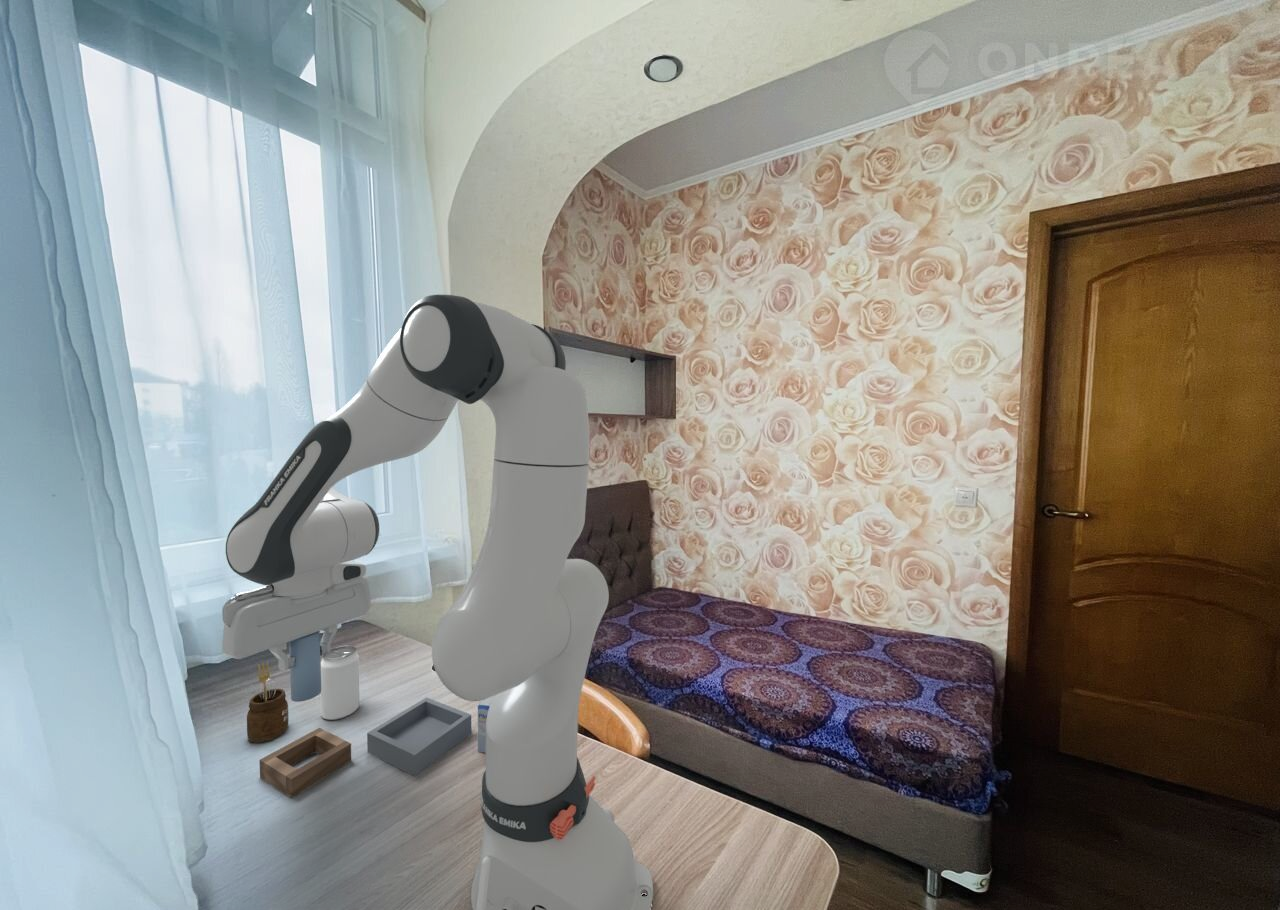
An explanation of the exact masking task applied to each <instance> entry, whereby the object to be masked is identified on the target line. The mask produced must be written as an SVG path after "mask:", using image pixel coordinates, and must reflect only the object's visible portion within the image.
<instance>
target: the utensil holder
mask: <svg viewBox="0 0 1280 910" xmlns="http://www.w3.org/2000/svg"><path fill="white" fill-rule="evenodd" d="M265 663H266V667H265ZM265 663H262V664H261V665H260V664H258V665H257V670H258V682H259V683H261V685H260V687H259V688H260V692H259V693H257V694H255V695H253V696H252V697H251V698H250V699H249V703H248V708H249V709H248V711H247V715H246V736H247V739H248V741H249V742H250V743H255V744H256V743H264V742H269V741H271V740H273V739H275V738H278V737H279V736H281V735H283V734H284V733H285V732H286V730H287V729H288V728H289V727H288V726H289V703H288V701H287V699H286V698H287V697H286V691H285V690H284V689H282V688H274V687H272V688H271V686H270V684H271V683H268V682H269V681H271V682H273V680H274V682H277V680H276V679H274V678H271V677H270V676H271V675H270V667H269V666H270V665H269V662H268V661H267V662H265ZM261 666H262V667H261ZM261 669H262V672H261ZM267 683H268V685H269V689H267ZM273 686H276V683H273ZM262 688H263V691H262Z"/></svg>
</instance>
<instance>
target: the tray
mask: <svg viewBox="0 0 1280 910" xmlns="http://www.w3.org/2000/svg"><path fill="white" fill-rule="evenodd" d="M470 734H472V714H470V713H468V712H466V711H463V710H460V709H457V708H455V707H452V706H449V705H447V704H445V703H442V702H440V701H437V700H434V699H432V698H429V697H427V696H426V697H424V698H423V699H422V700H419V701H418V702H416V703H414V704H413V705H411V706H410V707H408V708H406V709H405V710H403V711H402V712H399V713H398V714H396V715H395V716H393V717H391V718H389V719H387V720H386V721H385V722H383V723H381V724H380V725H378V726H377V727H375V728H373V729H371V730H369V731H367V733H366V736H367V737H366V738H367V739H366V741H367V742H366V743H367V745H366V746H367V750H366V751H367V754H370V755H372V756H374V757H375V758H378V759H379V760H382V761H384V762H385V763H388V764H390V765H392V766H394V767H396V768H398V769H400V770H402V771H404V772H406V773H407V774H410V775H412V776H414V777H415V776H416V775H418V774H419V773H421V772H422V771H423V770H424V769H426V768H427V767H429V766H430V765H431V764H433V763H434V762H435V761H437V760H438V759H439V758H440V757H442V756H443V755H444V754H445V753H447V752H448V751H450V750H451V749H452V748H454V747H455V746H456V745H458V744H459V743H460V742H462V741H463V740H464V739H465V738H467V737H468V736H470Z"/></svg>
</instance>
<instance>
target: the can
mask: <svg viewBox="0 0 1280 910" xmlns="http://www.w3.org/2000/svg"><path fill="white" fill-rule="evenodd" d="M321 657H322V659H321V693H320V694H319V697H320V716H321V718H323V719H325V720H327V721H338V720H340V719H344V718H347V717H348V716H351V715H353V713H355V712H356V711H357V710H358V708H359V707H360V656H359V653H358V651H357V648H356V646H353V645H342V646H341V645H340V646H337V647H333V648H331V651H330V652H329V653H327V654H324V655H322V656H321Z"/></svg>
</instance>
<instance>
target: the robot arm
mask: <svg viewBox="0 0 1280 910" xmlns="http://www.w3.org/2000/svg"><path fill="white" fill-rule="evenodd" d="M566 364H567V363H566V357H565V352H564V350H563V347H562V346H561V344H560V343H559V341H558V340H557V339H556V338H555V337H554V336H553V335H552V334H551V333H550V332H549V331H547V330H546V329H544V328H543V327H542V326H540V325H537V324H535V323H534V324H533V323H530V322H528V321H526V320H525V319H521V317H518V316H515V315H514V314H513V313H511V312H509V311H507V310H504V309H502V308H498V307H496V306H492V305H488V304H485V303H480V302H476V301H472V299H469V298H467V297H464V296H460V295H459V296H458V295H455V294H454V295H453V294H431V295H427V296H425V297H422V298H420V299H419V300H418V301H416V302H415V303H414V304H413V305H412V306H411V307H410V308H409V310H408V312H407V313H406V315H405V317H404V319H403V321H402V325H401V328H400V329H399V330H398V331H397V332H396V334H394V336H393V337H392V338H391V340H390V341H389V343H387V345H386V346H385V347H384V349H383V351H382V352H381V353H380V355H379V357H378V358H377V360H376V362H375V363H374V365H373V366H372V368H371V370H370V372H369V375H367V378H366V380H365V381H364V383H363V385H362V386H361V387H360V389H359V390H358V391H357V392H356V393H355V395H354V396H353V397H351V399H350V400H348V402H347V403H345V405H343V406H342V407H341V408H339V410H338V411H336V412H335V413H334V414H332V415H331V416H329V417H327V418H325V419H324V420H322V421H320V422H318V423H317V424H316V425H315V426H314V427H312V429H310V430H309V432H308V433H307V434H306V435H305V436H304V438H303V439H302V440H301V442H300V443H299V444H298V445H297V447H296V448H295V450H294V451H293V452H292V454H291V455H290V457H288V459H287V460H286V462H285V463H284V465H283V466H282V468H281V469H280V470H279V472H278V473H277V475H276V476H275V477H274V479H273V480H272V481H271V483H270V484H269V485H268V487H267V488H266V489H265V491H264V492H263V494H262V496H261V497H260V498H259V499H258V500H257V502H255V503H254V505H252V507H251V508H249V509H248V510H247V511H245V512H244V513H243V514H242V516H241V517H240V518H239V519H237V521H236V522H235V523H234V524H233V526H232V527H231V528H230V531H229V533H228V534H227V538H226V541H225V557H226V561H227V563H228V566H229V568H230V569H231V570H232V571H233V572H234V573H235V574H237V575H239V576H240V577H242V578H243V579H246V580H248V581H251V582H253V583H256V584H259V585H262V586H261V587H257V588H254V589H251V590H248V591H241V592H238V593H236V594H234V596H233V597H231V598H229V599H228V600H227V601H226V602H225V603H224V605H223V606H222V622H223V624H224V626H223V631H222V632H223V633H222V641H221V642H222V643H221V644H222V645H221V646H222V647H221V648H222V653H224V654H225V655H226V656H229V657H231V658H233V659H235V660H242V659H243V660H244V659H245V658H248V657H252V656H255V655H256V654H258V653H259V654H260V653H261V652H265V651H268V650H269V651H270V652H271V654H273V656H274V657H275V658H276V659H277V661H278V662H277V664H278V666H277V667H278V669H279V670H280V671H282V672H284V671H287V670H290V668H292V667H295V663H294V661H295V656H291V655H290V653H289V654H286V653H285V652H284V651H286V650H287V644H288V643H289V642H290V641H293V640H295V639H298V638H301V637H304V636H307V635H309V634H312V633H315V632H318V631H320V632H321V631H322V632H323V635H322V637H321V638H320V657H322V655H324V654H327V653H329V652H330V651H331V649H332V648H331V643H332V642H333V639H334V638H335V636H336V634H337V632H338V625H340V624H343V623H346V622H349V621H350V620H354V619H356V618H359V617H361V616H364V615H366V614H367V613H369V611H370V609H371V605H372V599H371V598H372V597H371V589H370V583H369V581H368V580H367V578H366V577H364V576H365V575H366V573H367V566H366V565H365V564H363V563H360V562H355V561H354V560H357V559H360V558H362V557H364V556H367V555H368V554H370V553H371V552H372V550H374V548H375V547H376V545H377V543H378V540H379V536H380V521H379V517H378V515H377V513H376V511H375V510H374V508H373V507H372V506H371V505H369V504H368V503H367V502H366V501H363V500H362V499H355V498H352V497H349V496H347V495H345V494H343V493H341V492H340V491H338V490H336V488H334V486H335V485H336V484H338V483H339V482H341V480H344V479H345V478H347V477H349V476H350V475H353V474H355V473H357V472H359V471H363V470H366V469H369V468H372V467H375V466H377V465H381V464H384V463H388V462H392V461H396V460H401V459H403V458H404V459H405V458H408V457H410V456H413V455H416V454H418V453H420V452H422V451H423V450H424V449H425V448H427V447H428V446H429V445H430V444H431V443H432V442H433V441H434V440H435V439H436V437H437V436H439V434H440V432H441V431H442V429H443V428H444V427H445V424H446V423H447V421H448V420H449V417H450V416H451V414H452V412H453V410H454V409H455V407H456V405H457V403H458V401H462V402H463V403H465V404H467V405H472V404H474V403H477V402H478V401H482V402H483V403H484V404H486V406H487V407H488V408H489V409H490V411H491V412H492V414H493V417H494V423H495V438H494V439H495V440H494V441H495V442H494V452H493V468H492V469H493V470H492V481H491V483H492V484H491V494H490V495H491V498H490V509H489V518H488V524H487V528H486V532H485V536H484V540H483V543H482V545H481V549H480V552H479V553H478V556H477V559H476V562H475V563H474V567H473V569H472V571H471V573H470V575H469V576H468V577H469V578H468V580H467V581H466V583H465V586H464V587H463V588H462V591H461V592H460V594H459V595H458V597H457V598H456V599H455V601H454V602H453V604H452V605H451V606H450V608H449V609H448V610H447V611H446V612H445V613H444V614H443V616H442V617H441V618H440V620H439V621H438V623H436V627H435V629H434V632H433V636H432V640H431V658H432V663H433V668H434V670H435V673H436V675H437V678H439V680H440V681H441V683H442V685H443V686H444V687H445V688H446V689H447V690H449V691H450V692H451V693H452V694H453V695H455V696H456V697H459V698H460V699H462V700H464V701H468V702H482V701H483V700H484V699H487V698H490V697H492V696H495V697H494V698H493V700H492V703H491V705H490V707H489V710H488V714H487V718H486V753H485V770H484V771H483V775H482V779H481V794H480V802H481V815H482V817H483V821H484V822H483V829H482V838H481V845H480V846H481V847H480V852H479V858H478V863H477V867H476V871H475V874H474V877H473V880H472V884H471V891H470V901H471V902H470V903H471V907H472V910H650V908H651V904H652V900H653V901H654V881H653V875H652V872H651V871H650V870H649V869H648V868H647V867H646V866H644V865H643V864H641V863H640V862H639V861H637V860H636V859H635V857H634V851H633V847H632V844H631V841H630V839H629V837H628V835H627V834H626V833H625V831H623V830H622V828H620V826H619V825H618V824H617V823H616V822H615V817H614V814H613V812H612V810H611V809H610V808H608V807H602V806H600V804H599V803H598V802H597V801H596V799H595V798H594V797H593V796H592V795H591V793H592V791H594V788H595V786H596V782H595V780H596V776H595V775H594V776H592V777H591V779H590V780H589V781H588V782H587V781H586V777H585V775H584V773H583V769H582V767H581V764H580V760H579V758H578V730H579V729H578V728H579V726H578V725H579V709H580V708H579V707H580V701H581V695H582V692H583V691H582V689H583V686H584V681H585V676H586V672H587V668H588V664H589V659H590V656H591V652H592V647H593V643H594V640H595V636H596V632H597V631H598V627H599V625H600V623H601V621H602V619H603V616H604V615H605V612H606V610H607V608H608V604H609V598H610V595H609V594H610V593H609V588H608V583H607V580H606V578H605V576H604V574H603V573H602V572H601V570H600V569H599V568H598V567H597V566H596V565H595V564H593V563H592V562H590V561H588V560H586V559H583V558H568V557H569V554H570V553H571V550H572V548H573V547H574V545H575V544H576V542H577V541H578V539H579V537H580V536H581V533H582V531H583V529H584V527H585V523H586V522H585V521H586V510H587V509H586V507H587V497H588V496H587V494H588V479H589V476H588V475H589V461H590V421H589V411H588V403H587V402H588V401H587V394H586V390H585V388H584V387H585V386H584V385H583V383H582V382H581V380H579V379H578V377H576V376H575V375H574V374H572V373H571V372H569V371H567V370H566V367H567V365H566ZM642 893H646V894H647V896H646V895H643V896H642V895H641V894H642Z"/></svg>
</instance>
